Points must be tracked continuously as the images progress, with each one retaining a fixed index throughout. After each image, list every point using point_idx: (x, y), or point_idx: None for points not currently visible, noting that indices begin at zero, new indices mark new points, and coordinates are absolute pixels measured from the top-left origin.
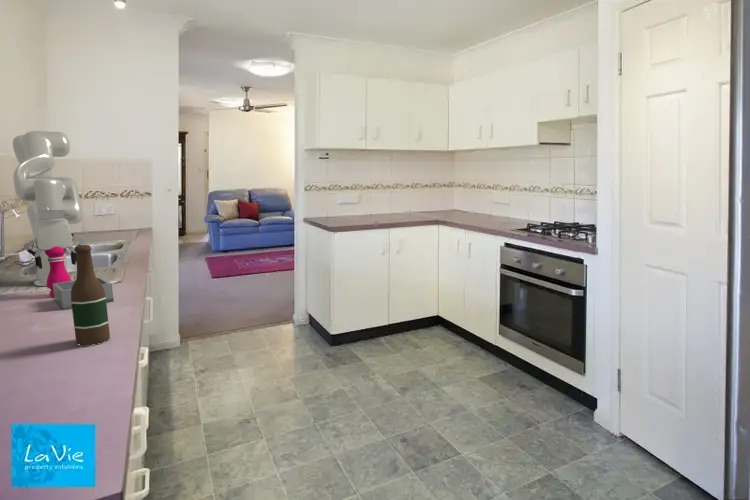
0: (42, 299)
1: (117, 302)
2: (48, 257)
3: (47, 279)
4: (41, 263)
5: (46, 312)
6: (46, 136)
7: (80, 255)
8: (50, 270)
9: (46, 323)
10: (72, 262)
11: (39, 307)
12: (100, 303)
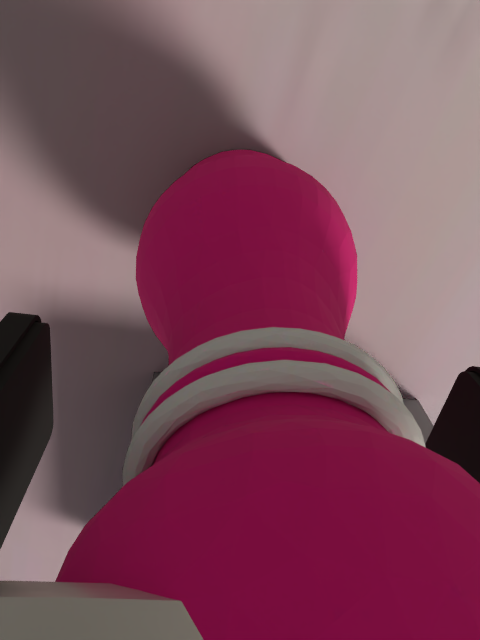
0: (105, 247)
1: None
2: (150, 453)
3: (139, 286)
4: (23, 488)
5: (72, 531)
6: None
7: None
8: (168, 350)
9: None
10: (446, 440)
11: (57, 434)
12: None
